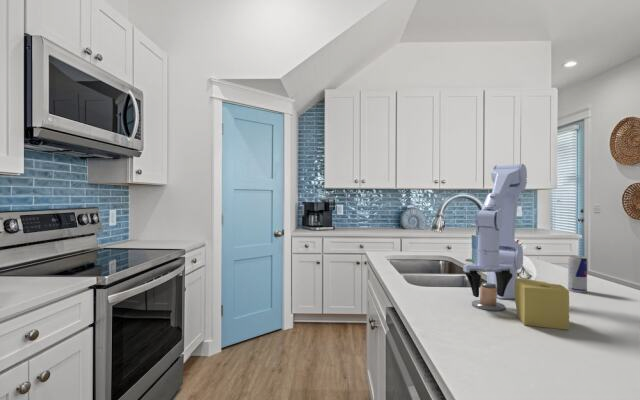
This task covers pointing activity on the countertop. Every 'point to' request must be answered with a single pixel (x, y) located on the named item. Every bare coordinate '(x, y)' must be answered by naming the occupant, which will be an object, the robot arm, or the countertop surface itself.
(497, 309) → the coaster
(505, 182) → the robot arm
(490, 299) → the spice jar
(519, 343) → the countertop surface
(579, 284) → the energy drink
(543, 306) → the cheese
